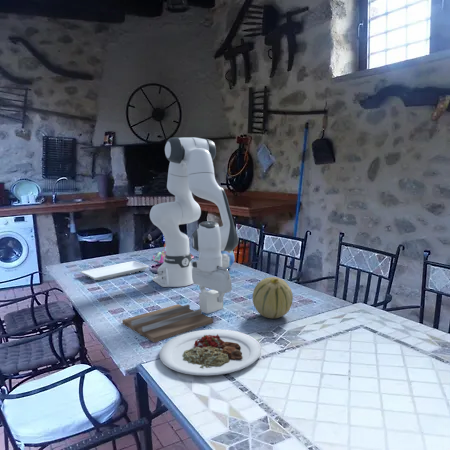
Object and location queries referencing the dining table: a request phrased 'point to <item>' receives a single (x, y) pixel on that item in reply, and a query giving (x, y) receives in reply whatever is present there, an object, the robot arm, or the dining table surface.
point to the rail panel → (167, 322)
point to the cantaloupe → (272, 297)
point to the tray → (115, 270)
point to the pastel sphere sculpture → (162, 255)
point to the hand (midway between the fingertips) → (212, 299)
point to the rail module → (209, 301)
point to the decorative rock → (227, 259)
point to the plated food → (210, 352)
